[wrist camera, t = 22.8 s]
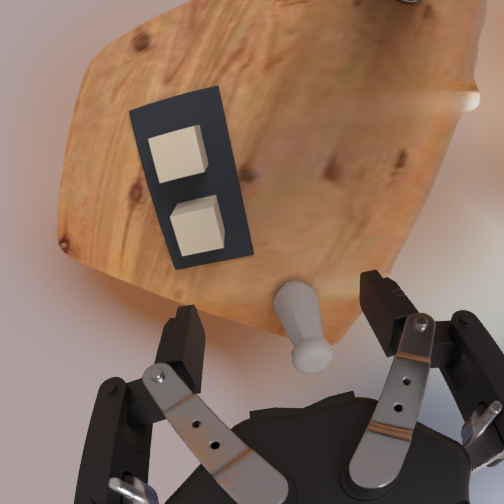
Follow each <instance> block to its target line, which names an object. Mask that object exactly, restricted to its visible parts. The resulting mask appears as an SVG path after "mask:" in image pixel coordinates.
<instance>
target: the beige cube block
mask: <svg viewBox="0 0 504 504" xmlns="http://www.w3.org/2000/svg"><path fill="white" fill-rule="evenodd" d="M170 219H171V222H172V226H173V229H174V232H175V235H176V238H177V242H178V245H179V248H180V251H181V254H182V256H186V255H191V254H196V253H201V252H206V251H211V250H216V249H221V248H224V237H225V229H224V225H223V221H222V217H221V213H220V209H219V205H218V201H217V197H216V195H213V196H208V197H204V198H199V199H195V200H191V201H186V202H182V203H178V204H177V206H176V207H175V209H174V211H173V213H172V214H171V216H170Z"/></svg>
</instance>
